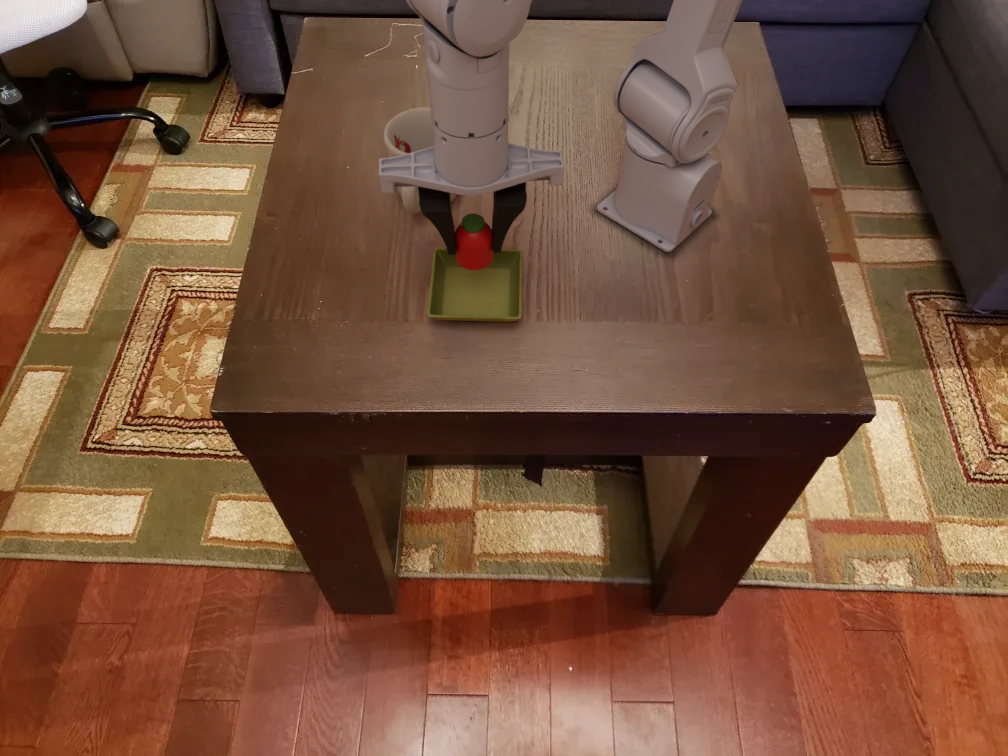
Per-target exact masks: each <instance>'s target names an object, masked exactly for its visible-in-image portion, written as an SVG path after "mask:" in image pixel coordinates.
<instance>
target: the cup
mask: <svg viewBox="0 0 1008 756" xmlns="http://www.w3.org/2000/svg"><path fill="white" fill-rule="evenodd" d="M383 142H384V143H383V144H384V146H385V149H386V150H385V151H386V153H387V158H390V157H396V156H400V155H405V154H408V153H412V152H415V151H419V150H422V149H426V148H430V147H433V146H434V144H433V132H432V120H431V110H430V106H421V107H420V106H419V107H414V108H410V109H406V110H404V111H401V112H399V113H398V114H396V115H394V116H393V117H392V118H391V119H390V120H389V121H388V122H387V124H386V125H385V127H384V130H383ZM396 188H397V192H398V193H399V196H400V197H401V201H402V205H403V209H404V210H405V212H407V213H408V214H413V215H416V214H419V213H420V212H421V209H420V206H419V191H418V186H412V187H396ZM457 195H458V194H454V193H450V201H451V203H453V201H454V200H455V198H456V197H457Z"/></svg>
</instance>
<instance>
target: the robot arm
mask: <svg viewBox="0 0 1008 756" xmlns="http://www.w3.org/2000/svg"><path fill="white" fill-rule="evenodd" d="M405 1H406V3H407V5H408V6H409V8H410V9H411V10H412V11H413V12H414V13H415V14H416V15H418V17H419V19H420V21H421V27H422V37H423V39H424V48H425V49H424V52H425V63H426V72H427V86H428V96H429V107H430V110H431V120H432V132H433V144H434V146H433V147H430V148H426V149H422V150H419V151H415V152H412V153H408V154H405V155H400V156H396V157H390V158H389V157H381V158H380V157H379V158H378V178H379V179H378V180H379V185H380V190H381V194H393V193H395V192H396V190H397V189H396V188H397V187H412V186H418V191H419V206H420V209H421V210H420V212H421V214H422V216H424V218H426V219H428V220H429V222H430V223H431V224H432V225H433V226H434V228H435V229H436V230H437V232H438V234H439V235H440V238H442V241H443V243H444V245H445V248H447V251H448V254H449V255H456V246H455V231H456V229H455V223H454V217H453V216H454V215H453V210H452V205H451V204H452V202H451V201H450V193H454V194H457V195H458V196H465V197H476V196H477V197H478V196H484V195H488V194H490V193H492V195H493V199H492V201H493V205H492V206H493V208H492V216H491V217H492V218H491V229H492V232H493V253H500V252H501V249H503V245H504V241H505V239H506V237H507V234H508V233H509V230H510V228H511V227H512V225H513V223H514V222H515V221H516V220H517V218H518V217H519V216H520V215H521V214H522V213H523V212H524V211H525V209H526V206H527V200H528V195H527V183H528V182H541V181H542V182H544V181H545V182H546V181H547V182H548V184H549V186H552V187H555V186H556V187H557V186H563V185H564V176H565V168H566V167H565V162H564V156H563V151H562V150H548V149H540V148H533V147H529V146H523V145H517V144H512V143H509V108H510V107H509V105H510V104H509V102H510V101H509V100H510V94H509V93H510V42H512V41H513V40H515V39H516V38H517V37H518V36H519V35H520V33H521V31H522V30H523V29H524V26H525V24H526V22H527V19H528V16H529V13H530V8H531V4H532V2H533V0H405ZM743 2H744V0H673V1H672V4H671V7H670V10H669V13H668V16H667V19H666V22H665V25H664V27H663V30H662V31H659V32H656V33H653V34H650V35H648V36H646V37H643V38H642V39H640V40H638V41H637V42H636V45H635V48H634V50H633V53H632V56H631V58H630V60H629V62H628V64H627V65H626V67H625V68H624V69H623V71H622V72H621V74H620V76H619V77H618V80H617V81H616V85H615V88H614V92H613V100H612V101H613V106H614V108H615V110H616V112H618V113H619V114H620V115H621V116H622V121H621V128H622V129H623V130H624V133H625V136H624V141H623V148H622V154H621V160H620V165H619V170H618V171H619V172H618V177H617V182H616V188H615V190H613V192H611V193H610V194H608V195H607V196H606V197H605V198H604V199H602V200H601V201H600V202H599V203H598V204H597V205H596V211H597V212H599V213H600V214H602V215H604V216H605V217H607V218H608V219H610V220H612V221H614V222H615V223H617V224H618V225H620V226H622V227H623V228H625V229H627V230H629V231H630V232H632V233H633V234H636V235H637V236H638V237H640V238H642V239H644V240H645V241H646V242H648V243H650V244H652V245H654V246H655V247H656V248H659V249H660V250H662V251H663V252H665V253H671V252H673V250H675V249H676V247H678V246H679V245H680V244H681V243H683V241H684V240H685V239H687V238H688V237H689V236H690V235H691V234H692V233H693V232H694V231H695V230H696V229H697V228H698V227H699V226H700V225H702V224H703V223H704V222H705V221H706V220H707V219H708V218H710V216H711V215H712V212H713V210H712V209H711V207H712V204H713V200H714V197H715V194H716V192H717V188H718V184H719V182H720V178H721V175H722V169H723V166H722V163H721V162H719V160H717V159H716V158H715V157H713V155H711V154H710V152H712V150H713V149H714V148H715V147H716V146H717V144H719V142H720V141H721V139H722V138H723V136H724V134H725V132H726V130H727V127H728V124H729V117H730V111H731V104H732V101H733V98H734V96H735V93H736V91H737V88H738V82H737V79H736V77H735V73H734V71H733V69H732V66H731V63H730V61H729V59H728V56H727V53H726V50H725V45H726V43H727V39H728V37H729V35H730V33H731V30H732V28H733V25H734V23H735V21H736V18H737V16H738V13H739V12H740V8H741V6H742V3H743Z"/></svg>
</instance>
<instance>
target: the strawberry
mask: <svg viewBox="0 0 1008 756" xmlns="http://www.w3.org/2000/svg"><path fill="white" fill-rule="evenodd" d="M455 246H456V260H457V262H458V264H459V265H460V266H462V267H463V268H465V269H468V270H480V269H483V268H485V267H487V266H488V265H489V264H490V263H491V262H492V260H493V232H492V226H490V225H489V223H488V222H487V221H486V220H485V218H484V216H482V215H481V214H479V213H468V214H466V215H464V216H463V217H462V218H461V221H460V223H459V224H458V225H457V226H456V229H455Z"/></svg>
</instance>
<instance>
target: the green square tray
mask: <svg viewBox="0 0 1008 756" xmlns="http://www.w3.org/2000/svg"><path fill="white" fill-rule="evenodd" d="M523 255H524V254H523V250H521V249H516V248H515V249H514V248H502V249H501V252H500V253H493V260H492V262H491V263H490V264H489V265H488V266H487V267H485V268H483V269H480V270H468V269H465V268H463V267H462V266H460V265H459V264H458V262H457V260H456V255H449V254H448V251H447V248H446V247H435V249H433V253H432V261H431V271H430V282H429V288H428V298H427V306H426V315H427V317H428V318H429V319H432V320H438V321H465V322H466V321H467V322H471V321H472V322H473V321H475V322H515V321H516V322H517V321H518V320H520V319H521V318H522V316H523V314H522V313H523V304H522V303H523V257H524V256H523Z"/></svg>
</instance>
